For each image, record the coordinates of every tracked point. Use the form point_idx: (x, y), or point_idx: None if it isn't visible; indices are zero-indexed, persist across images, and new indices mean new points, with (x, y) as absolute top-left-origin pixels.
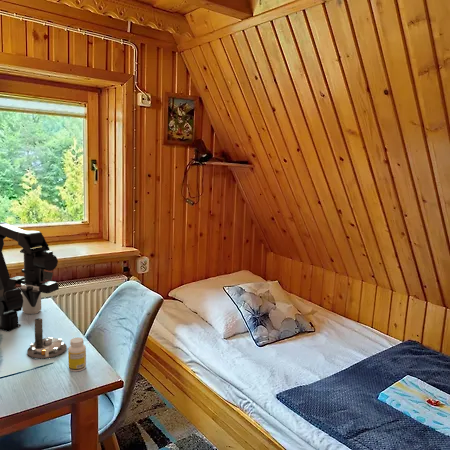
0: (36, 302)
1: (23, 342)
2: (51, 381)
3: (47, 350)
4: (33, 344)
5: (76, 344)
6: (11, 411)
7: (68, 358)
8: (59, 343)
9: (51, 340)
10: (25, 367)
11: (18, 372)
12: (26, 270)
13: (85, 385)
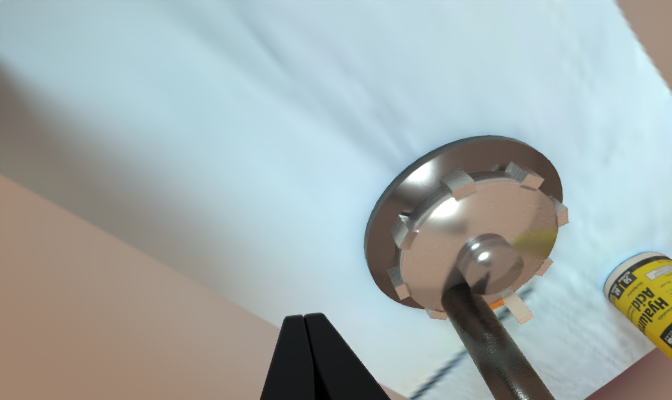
0: (358, 363)
1: (267, 213)
2: (565, 355)
3: (521, 309)
4: (413, 290)
5: None
6: None
7: (642, 331)
8: (547, 224)
9: (521, 264)
10: (444, 348)
11: (439, 372)
12: None
13: None
